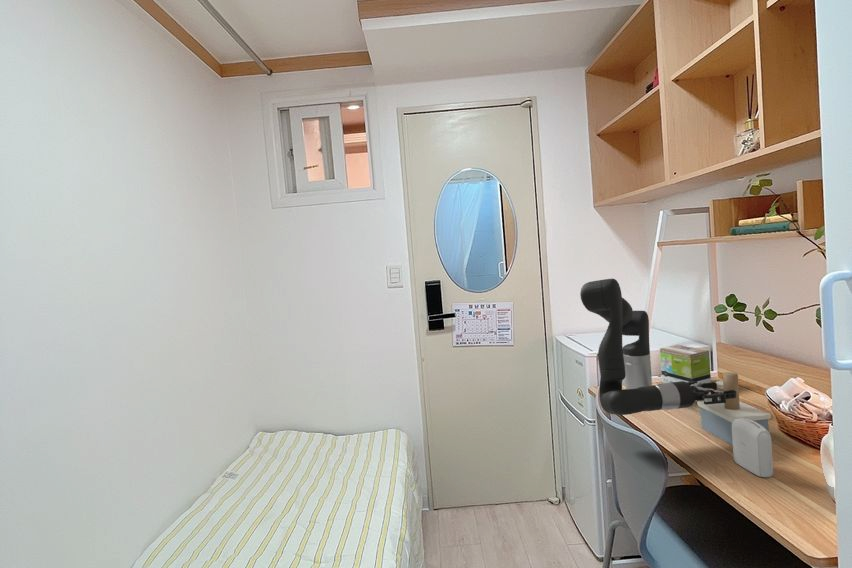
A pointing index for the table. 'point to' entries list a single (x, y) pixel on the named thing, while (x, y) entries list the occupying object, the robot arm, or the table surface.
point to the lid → (734, 403)
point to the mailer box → (722, 425)
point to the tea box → (685, 364)
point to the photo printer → (752, 447)
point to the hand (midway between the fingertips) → (725, 389)
